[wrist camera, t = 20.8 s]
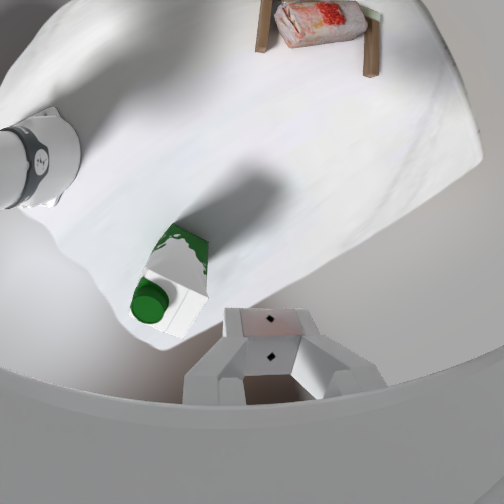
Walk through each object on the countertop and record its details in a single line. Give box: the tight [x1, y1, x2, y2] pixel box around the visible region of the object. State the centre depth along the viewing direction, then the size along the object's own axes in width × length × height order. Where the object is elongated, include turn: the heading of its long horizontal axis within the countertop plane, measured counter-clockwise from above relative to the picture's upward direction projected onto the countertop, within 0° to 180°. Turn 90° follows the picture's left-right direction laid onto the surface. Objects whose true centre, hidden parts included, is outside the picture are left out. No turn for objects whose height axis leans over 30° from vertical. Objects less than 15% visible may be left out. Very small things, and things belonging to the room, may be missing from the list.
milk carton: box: [128, 224, 209, 339], centre depth 39 cm, size 9×9×20 cm
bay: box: [255, 0, 380, 78], centre depth 33 cm, size 21×14×4 cm, turn 85°
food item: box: [274, 0, 368, 48], centre depth 30 cm, size 14×8×10 cm, turn 111°
